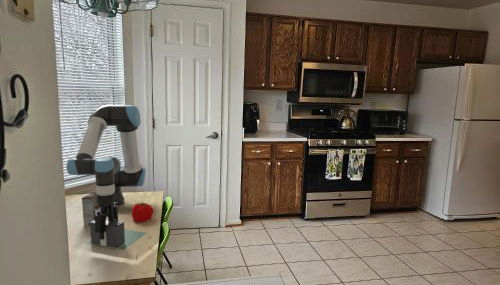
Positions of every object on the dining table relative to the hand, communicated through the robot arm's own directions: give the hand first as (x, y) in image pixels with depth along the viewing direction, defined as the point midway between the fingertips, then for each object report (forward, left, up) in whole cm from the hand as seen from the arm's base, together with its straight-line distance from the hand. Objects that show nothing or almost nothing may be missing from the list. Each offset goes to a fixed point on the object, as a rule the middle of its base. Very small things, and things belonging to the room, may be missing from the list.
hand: (108, 242), depth 150 cm
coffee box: (-18, -23, -2) cm, 30 cm away
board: (-6, 0, -2) cm, 7 cm away
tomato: (-30, -2, -2) cm, 31 cm away
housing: (0, 0, 0) cm, 0 cm away
